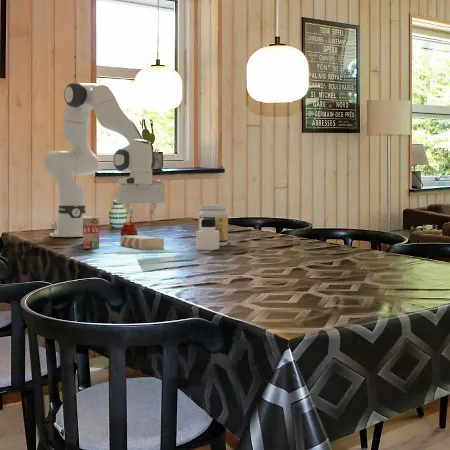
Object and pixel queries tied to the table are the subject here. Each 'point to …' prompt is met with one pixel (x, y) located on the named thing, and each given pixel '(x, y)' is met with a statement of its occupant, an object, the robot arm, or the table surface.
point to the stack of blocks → (90, 232)
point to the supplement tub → (217, 220)
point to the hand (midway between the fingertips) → (141, 214)
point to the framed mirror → (142, 242)
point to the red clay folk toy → (129, 228)
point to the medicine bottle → (207, 235)
